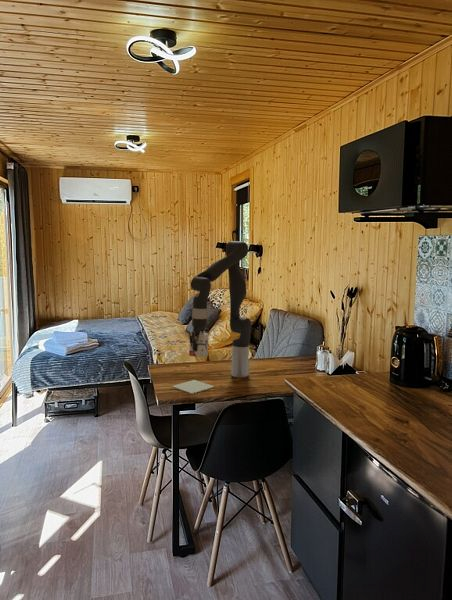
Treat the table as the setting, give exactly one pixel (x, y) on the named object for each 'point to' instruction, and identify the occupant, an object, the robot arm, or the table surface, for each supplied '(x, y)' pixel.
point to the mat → (193, 386)
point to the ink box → (200, 346)
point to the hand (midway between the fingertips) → (198, 350)
